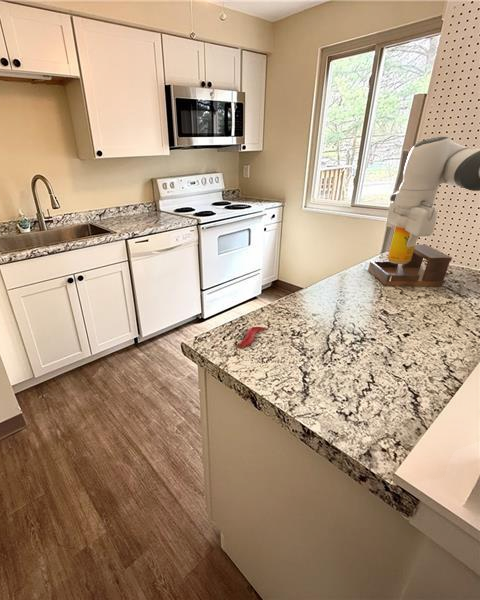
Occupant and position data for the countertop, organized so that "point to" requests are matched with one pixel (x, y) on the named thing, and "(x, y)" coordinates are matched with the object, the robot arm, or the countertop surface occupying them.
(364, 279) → the countertop surface
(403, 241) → the beer can
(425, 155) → the robot arm
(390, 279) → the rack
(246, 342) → the cayenne pepper
